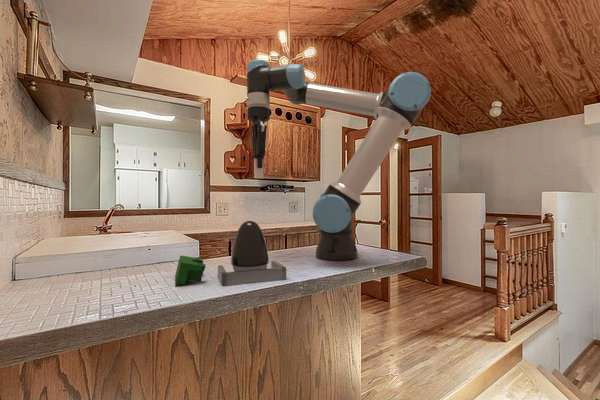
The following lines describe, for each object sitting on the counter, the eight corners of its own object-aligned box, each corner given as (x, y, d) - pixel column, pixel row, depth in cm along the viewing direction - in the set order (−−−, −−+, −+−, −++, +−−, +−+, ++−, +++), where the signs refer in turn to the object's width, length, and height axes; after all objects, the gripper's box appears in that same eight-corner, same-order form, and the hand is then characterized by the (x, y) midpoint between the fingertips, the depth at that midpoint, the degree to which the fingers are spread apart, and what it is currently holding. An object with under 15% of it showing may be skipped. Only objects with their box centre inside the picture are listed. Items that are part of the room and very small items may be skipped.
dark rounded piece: (270, 271, 88) (269, 219, 88) (266, 280, 78) (266, 221, 78) (235, 271, 88) (235, 219, 88) (227, 280, 77) (226, 222, 78)
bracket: (275, 271, 88) (275, 260, 88) (286, 279, 78) (286, 267, 78) (217, 276, 82) (217, 265, 82) (222, 286, 73) (222, 273, 73)
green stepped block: (196, 300, 76) (206, 270, 73) (171, 297, 74) (180, 266, 71) (198, 272, 86) (206, 245, 84) (176, 269, 84) (184, 241, 82)
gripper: (243, 112, 106) (244, 179, 106) (251, 101, 94) (252, 176, 94) (264, 114, 109) (265, 179, 109) (274, 103, 97) (275, 176, 97)
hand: (259, 178), depth 101 cm, fingers closed
